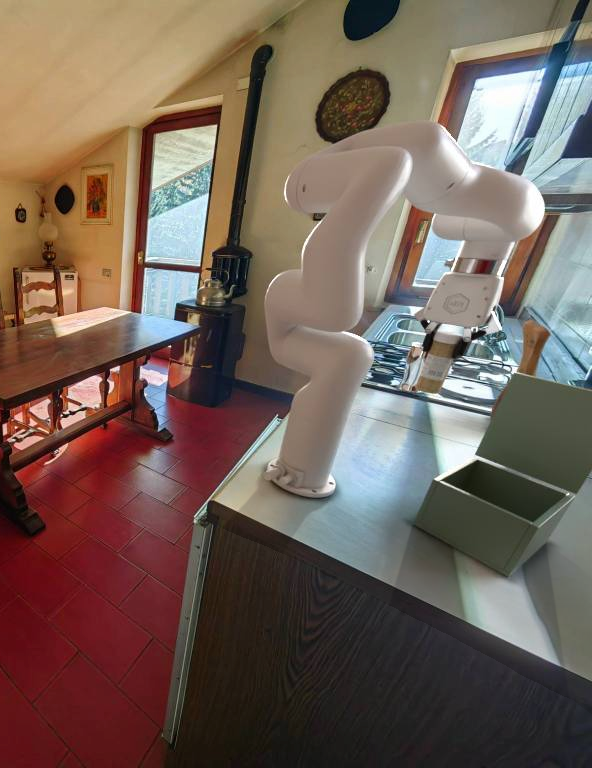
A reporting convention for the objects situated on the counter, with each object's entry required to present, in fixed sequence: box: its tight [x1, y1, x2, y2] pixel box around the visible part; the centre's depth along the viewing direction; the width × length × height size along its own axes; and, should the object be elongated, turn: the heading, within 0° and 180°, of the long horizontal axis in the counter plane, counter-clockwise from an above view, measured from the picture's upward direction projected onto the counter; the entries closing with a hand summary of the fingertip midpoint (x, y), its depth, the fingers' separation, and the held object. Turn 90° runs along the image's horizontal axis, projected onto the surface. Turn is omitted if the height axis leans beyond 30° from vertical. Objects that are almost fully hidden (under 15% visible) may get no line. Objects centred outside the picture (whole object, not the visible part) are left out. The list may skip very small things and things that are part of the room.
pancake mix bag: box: [489, 318, 552, 423], centre depth 99 cm, size 7×19×28 cm, turn 135°
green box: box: [412, 456, 576, 578], centre depth 66 cm, size 16×13×10 cm
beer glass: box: [397, 342, 430, 395], centre depth 124 cm, size 7×7×15 cm
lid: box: [474, 371, 592, 495], centre depth 65 cm, size 16×13×5 cm
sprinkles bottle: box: [415, 330, 463, 395], centre depth 86 cm, size 5×5×13 cm
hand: (441, 353), depth 85 cm, fingers closed on sprinkles bottle, 4 cm apart
